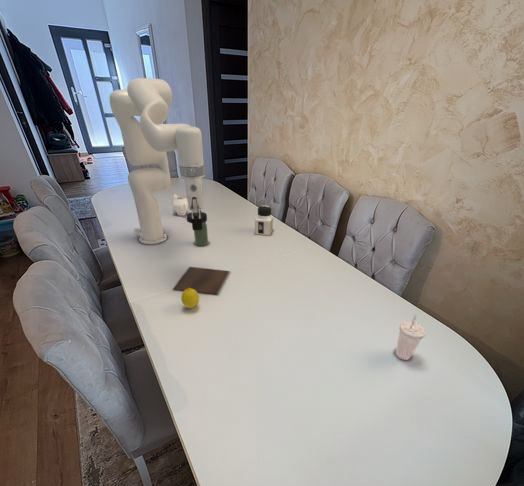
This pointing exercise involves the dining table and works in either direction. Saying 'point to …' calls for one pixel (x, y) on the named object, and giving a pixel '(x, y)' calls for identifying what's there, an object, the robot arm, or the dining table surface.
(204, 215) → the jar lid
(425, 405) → the dining table surface
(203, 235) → the jar
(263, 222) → the container
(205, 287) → the placemat
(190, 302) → the fruit
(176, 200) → the teapot
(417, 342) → the smoothie
